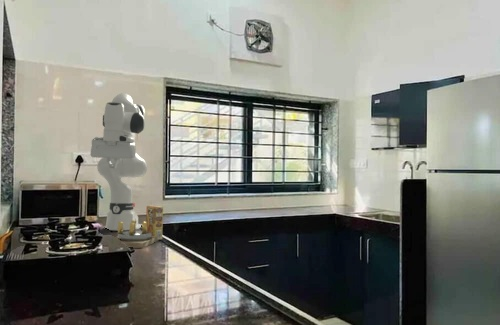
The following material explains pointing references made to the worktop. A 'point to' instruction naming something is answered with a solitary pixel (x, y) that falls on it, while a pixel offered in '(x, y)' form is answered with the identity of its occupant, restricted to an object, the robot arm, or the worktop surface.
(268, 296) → the worktop surface
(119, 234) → the cam disc
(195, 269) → the worktop surface
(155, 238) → the stand plate
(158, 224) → the candy box
